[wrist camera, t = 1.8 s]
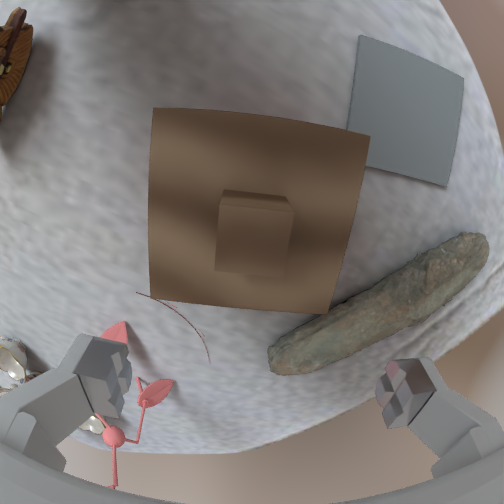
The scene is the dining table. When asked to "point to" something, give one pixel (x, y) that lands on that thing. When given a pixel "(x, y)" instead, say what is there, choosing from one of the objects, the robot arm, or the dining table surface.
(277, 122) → the walnut lid
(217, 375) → the dining table surface
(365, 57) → the grey mat
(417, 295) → the long grey stone
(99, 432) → the chinaware
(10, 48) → the wooden carving
